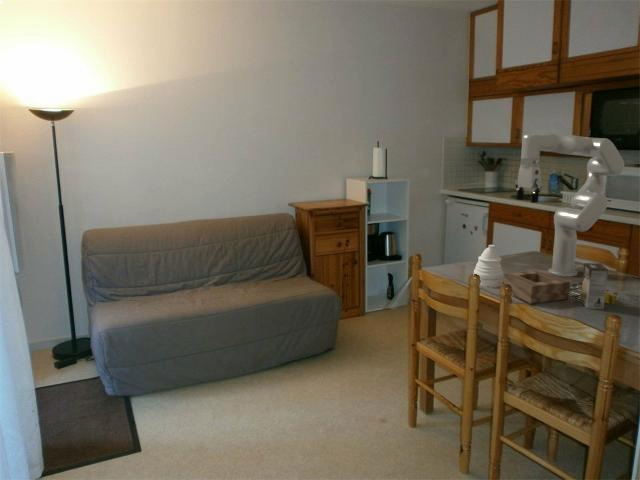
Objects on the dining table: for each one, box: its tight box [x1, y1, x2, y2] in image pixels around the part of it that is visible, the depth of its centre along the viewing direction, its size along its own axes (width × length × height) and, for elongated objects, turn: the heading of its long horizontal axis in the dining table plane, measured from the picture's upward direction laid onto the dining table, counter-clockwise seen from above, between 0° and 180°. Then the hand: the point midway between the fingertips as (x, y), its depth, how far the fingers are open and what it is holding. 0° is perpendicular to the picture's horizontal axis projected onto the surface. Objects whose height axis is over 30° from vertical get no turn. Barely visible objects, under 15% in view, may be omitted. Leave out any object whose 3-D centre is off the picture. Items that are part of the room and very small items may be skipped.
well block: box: [503, 269, 571, 306], centre depth 214 cm, size 18×18×8 cm
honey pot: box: [473, 244, 504, 288], centre depth 232 cm, size 13×13×18 cm
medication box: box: [604, 290, 618, 305], centre depth 210 cm, size 12×3×4 cm, turn 12°
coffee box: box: [580, 262, 609, 310], centre depth 202 cm, size 9×6×16 cm
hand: (527, 201), depth 231 cm, fingers open, 9 cm apart
